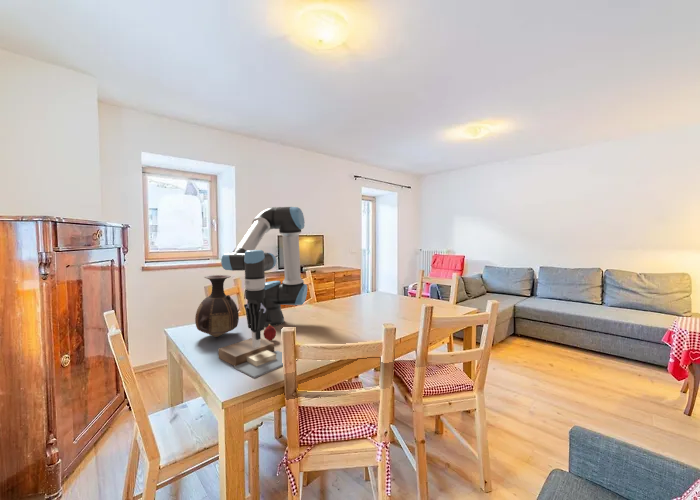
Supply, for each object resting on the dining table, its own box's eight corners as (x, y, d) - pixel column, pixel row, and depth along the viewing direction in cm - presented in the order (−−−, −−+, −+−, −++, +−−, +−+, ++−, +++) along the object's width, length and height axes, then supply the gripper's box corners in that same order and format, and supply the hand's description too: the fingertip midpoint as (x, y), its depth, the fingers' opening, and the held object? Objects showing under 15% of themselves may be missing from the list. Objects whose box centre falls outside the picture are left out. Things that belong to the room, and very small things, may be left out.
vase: (206, 348, 136) (203, 281, 134) (185, 339, 148) (182, 277, 146) (250, 334, 154) (249, 275, 152) (229, 327, 166) (227, 271, 164)
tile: (266, 354, 128) (266, 349, 128) (276, 359, 123) (276, 354, 123) (246, 361, 121) (246, 356, 121) (256, 366, 116) (256, 361, 116)
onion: (278, 340, 145) (278, 324, 144) (268, 344, 141) (268, 327, 140) (271, 338, 149) (271, 321, 148) (261, 341, 144) (260, 324, 144)
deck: (256, 345, 140) (256, 336, 139) (274, 352, 131) (274, 343, 131) (218, 358, 126) (218, 348, 125) (235, 366, 117) (235, 356, 117)
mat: (277, 351, 132) (277, 350, 132) (297, 359, 124) (297, 358, 124) (234, 368, 116) (234, 366, 116) (254, 378, 108) (254, 376, 108)
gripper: (237, 288, 123) (239, 345, 125) (256, 292, 115) (257, 353, 117) (253, 285, 129) (255, 340, 131) (273, 289, 121) (274, 347, 122)
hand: (256, 346), depth 124 cm, fingers closed
